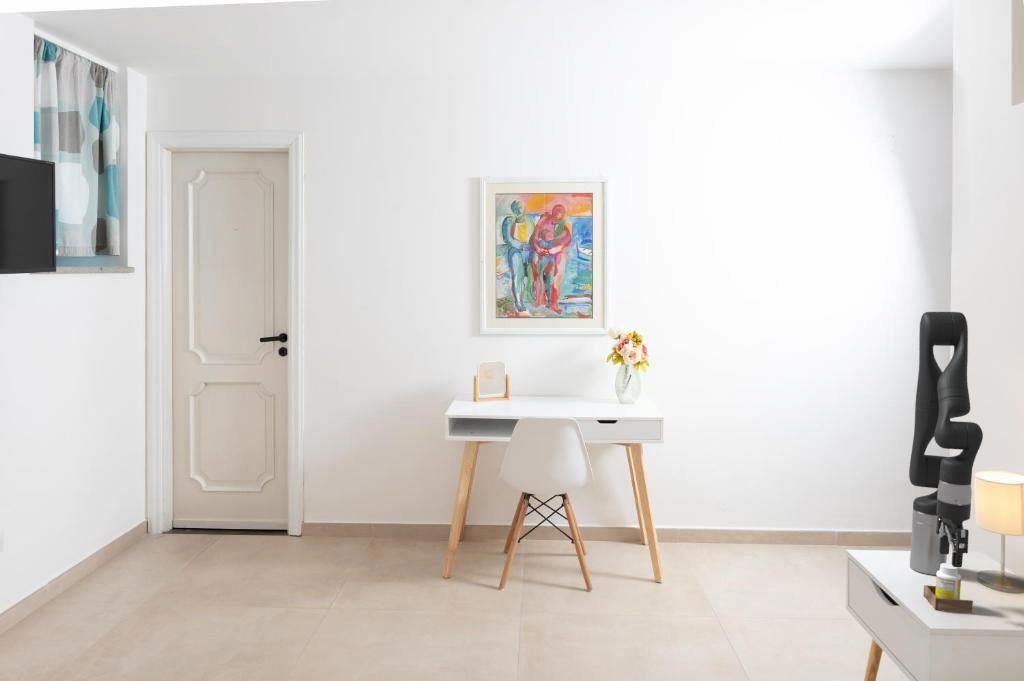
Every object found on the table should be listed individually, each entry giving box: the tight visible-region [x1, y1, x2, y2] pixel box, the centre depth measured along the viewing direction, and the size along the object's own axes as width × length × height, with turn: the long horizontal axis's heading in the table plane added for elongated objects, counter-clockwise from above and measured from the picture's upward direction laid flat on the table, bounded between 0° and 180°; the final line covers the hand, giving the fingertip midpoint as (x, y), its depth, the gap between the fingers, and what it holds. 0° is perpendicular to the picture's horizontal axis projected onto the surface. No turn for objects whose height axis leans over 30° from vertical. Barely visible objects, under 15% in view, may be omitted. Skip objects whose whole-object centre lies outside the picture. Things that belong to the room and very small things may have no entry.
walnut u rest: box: [923, 584, 974, 614], centre depth 202 cm, size 9×9×3 cm
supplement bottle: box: [935, 562, 962, 600], centre depth 202 cm, size 6×6×10 cm
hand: (950, 560), depth 202 cm, fingers open, 8 cm apart
